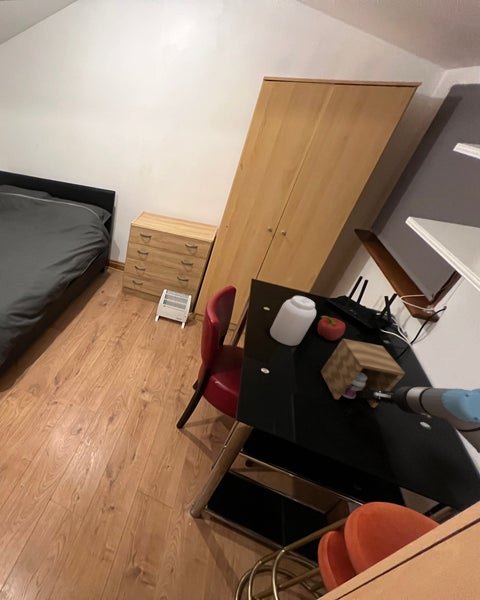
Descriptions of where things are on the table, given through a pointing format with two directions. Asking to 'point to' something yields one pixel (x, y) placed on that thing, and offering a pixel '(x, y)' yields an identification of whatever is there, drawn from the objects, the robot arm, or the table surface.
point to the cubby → (360, 368)
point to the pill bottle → (355, 386)
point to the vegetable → (330, 328)
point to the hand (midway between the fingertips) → (358, 394)
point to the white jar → (293, 320)
